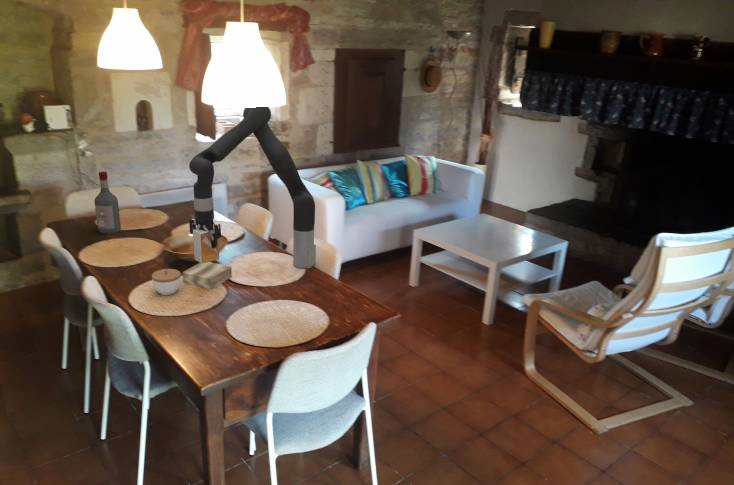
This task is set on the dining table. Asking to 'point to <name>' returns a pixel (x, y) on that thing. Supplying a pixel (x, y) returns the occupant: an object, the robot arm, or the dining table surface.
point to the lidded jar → (166, 281)
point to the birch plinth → (207, 275)
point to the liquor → (107, 208)
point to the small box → (204, 247)
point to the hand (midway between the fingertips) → (206, 245)
